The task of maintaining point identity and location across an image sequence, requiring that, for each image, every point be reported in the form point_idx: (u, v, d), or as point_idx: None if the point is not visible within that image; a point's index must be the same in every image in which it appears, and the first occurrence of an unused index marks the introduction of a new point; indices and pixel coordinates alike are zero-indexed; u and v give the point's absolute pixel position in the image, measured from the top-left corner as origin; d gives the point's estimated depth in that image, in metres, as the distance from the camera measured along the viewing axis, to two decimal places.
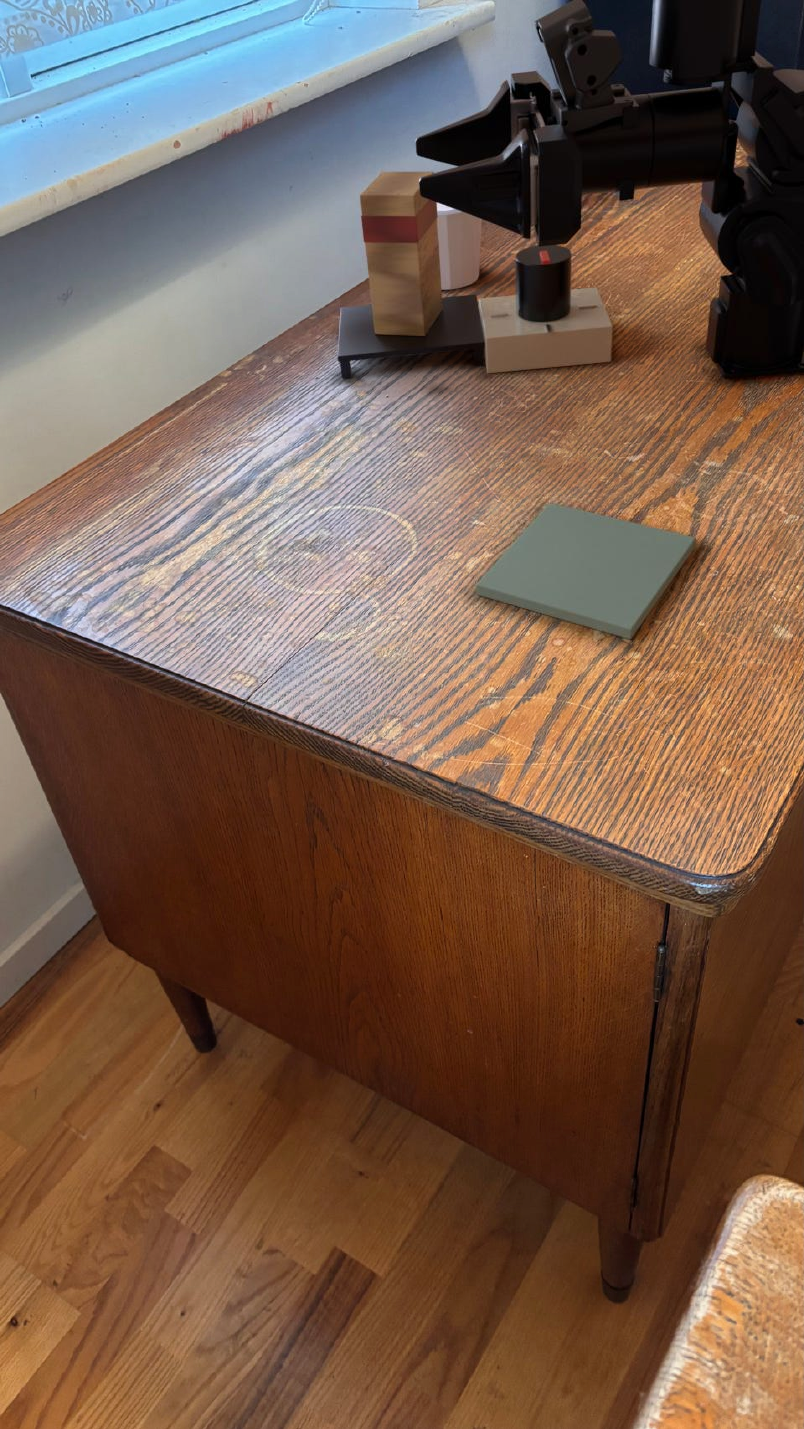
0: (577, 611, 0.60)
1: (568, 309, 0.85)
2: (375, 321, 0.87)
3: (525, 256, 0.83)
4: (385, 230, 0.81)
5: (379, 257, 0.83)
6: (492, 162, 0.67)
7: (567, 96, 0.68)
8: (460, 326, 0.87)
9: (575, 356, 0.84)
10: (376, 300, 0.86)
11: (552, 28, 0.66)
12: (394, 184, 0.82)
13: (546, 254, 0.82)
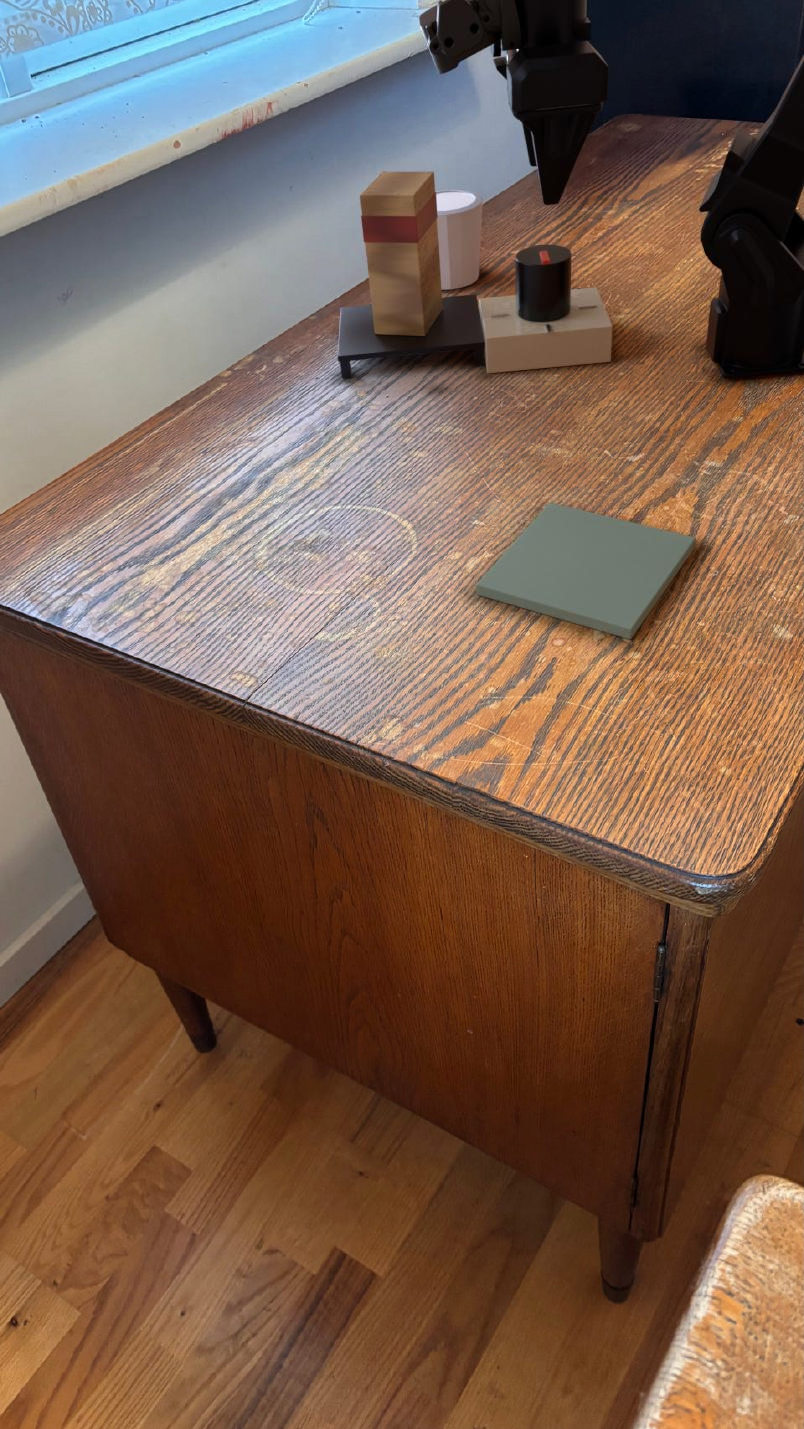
0: (577, 611, 0.60)
1: (568, 309, 0.85)
2: (375, 321, 0.87)
3: (525, 256, 0.83)
4: (385, 230, 0.81)
5: (379, 257, 0.83)
6: (532, 138, 0.72)
7: (490, 43, 0.71)
8: (460, 326, 0.87)
9: (575, 356, 0.84)
10: (376, 300, 0.86)
11: (435, 63, 0.72)
12: (394, 184, 0.82)
13: (546, 254, 0.82)
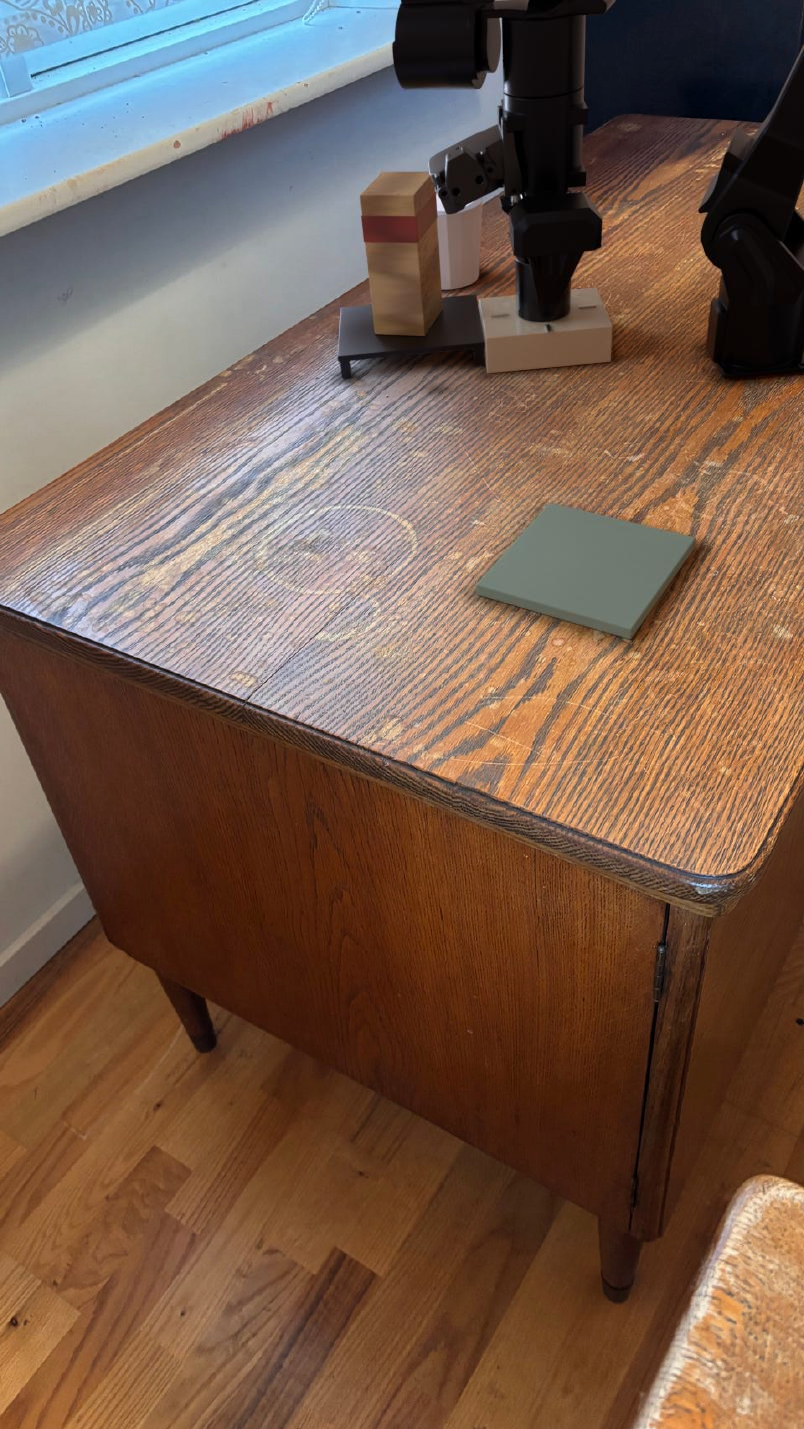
0: (577, 611, 0.60)
1: (568, 309, 0.85)
2: (375, 321, 0.87)
3: None
4: (385, 230, 0.81)
5: (379, 257, 0.83)
6: (530, 264, 0.79)
7: (494, 188, 0.77)
8: (460, 326, 0.87)
9: (575, 356, 0.84)
10: (376, 300, 0.86)
11: (443, 205, 0.78)
12: (394, 184, 0.82)
13: None
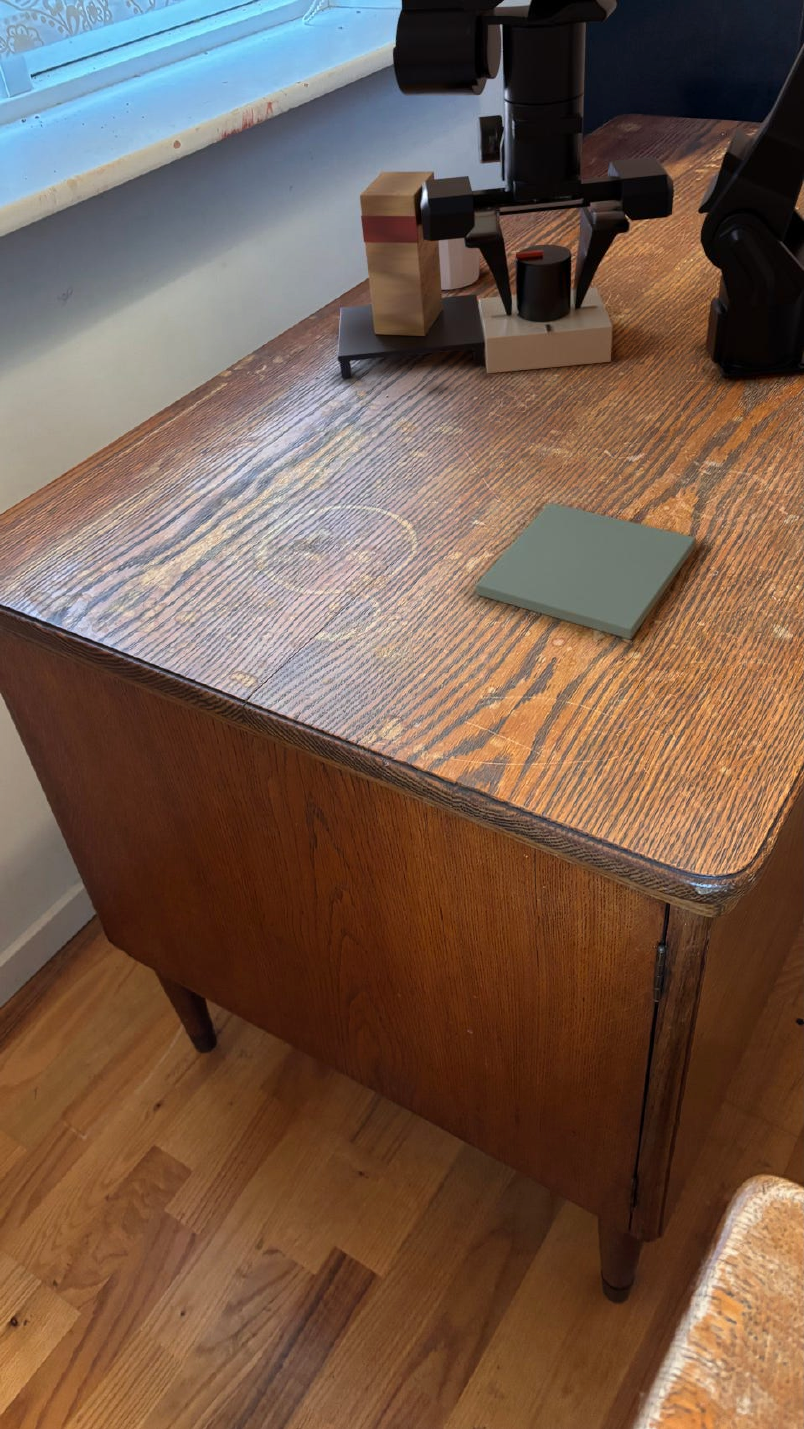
0: (577, 611, 0.60)
1: (532, 317, 0.84)
2: (375, 321, 0.87)
3: (542, 248, 0.84)
4: (385, 230, 0.81)
5: (379, 257, 0.83)
6: None
7: None
8: (460, 326, 0.87)
9: (575, 356, 0.84)
10: (376, 300, 0.86)
11: None
12: (394, 184, 0.82)
13: (532, 252, 0.82)
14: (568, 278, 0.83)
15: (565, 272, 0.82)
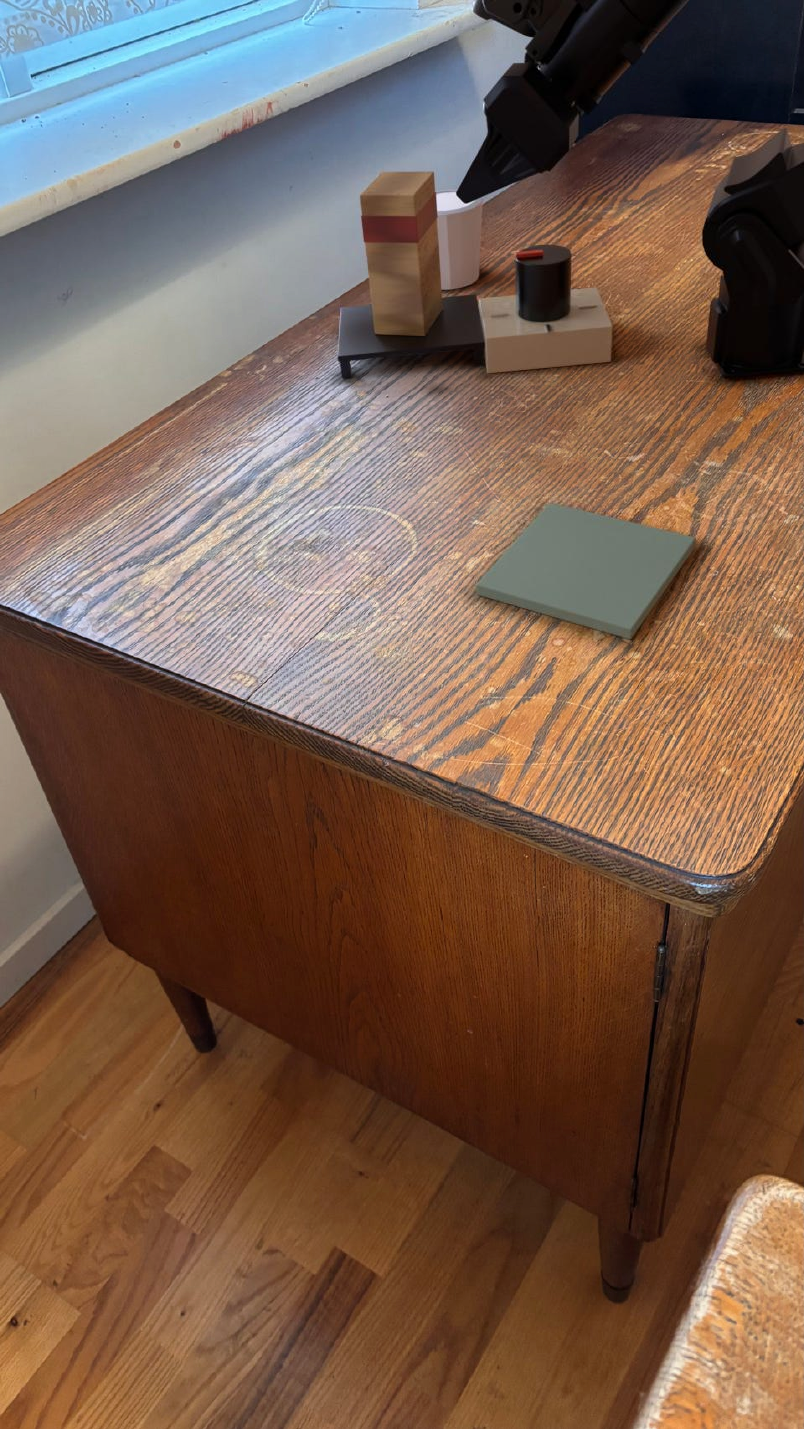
0: (577, 611, 0.60)
1: (532, 317, 0.84)
2: (375, 321, 0.87)
3: (542, 248, 0.84)
4: (385, 230, 0.81)
5: (379, 257, 0.83)
6: None
7: (523, 32, 0.70)
8: (460, 326, 0.87)
9: (575, 356, 0.84)
10: (376, 300, 0.86)
11: None
12: (394, 184, 0.82)
13: (532, 252, 0.82)
14: (568, 278, 0.83)
15: (565, 272, 0.82)
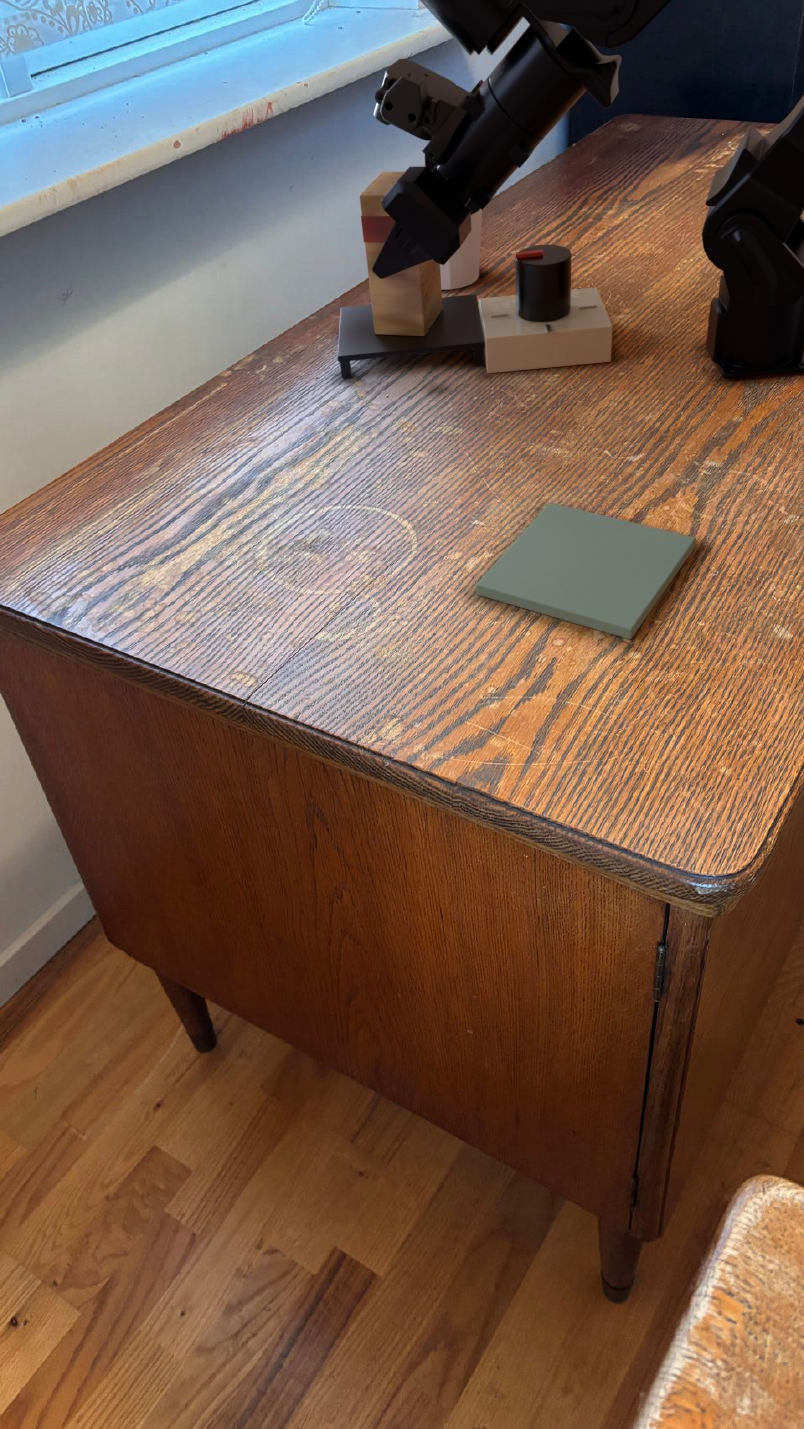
0: (577, 611, 0.60)
1: (532, 317, 0.84)
2: (375, 321, 0.87)
3: (542, 248, 0.84)
4: (385, 230, 0.81)
5: None
6: (394, 223, 0.80)
7: (420, 136, 0.77)
8: (460, 326, 0.87)
9: (575, 356, 0.84)
10: (376, 300, 0.86)
11: (376, 105, 0.76)
12: None
13: (532, 252, 0.82)
14: (568, 278, 0.83)
15: (565, 272, 0.82)
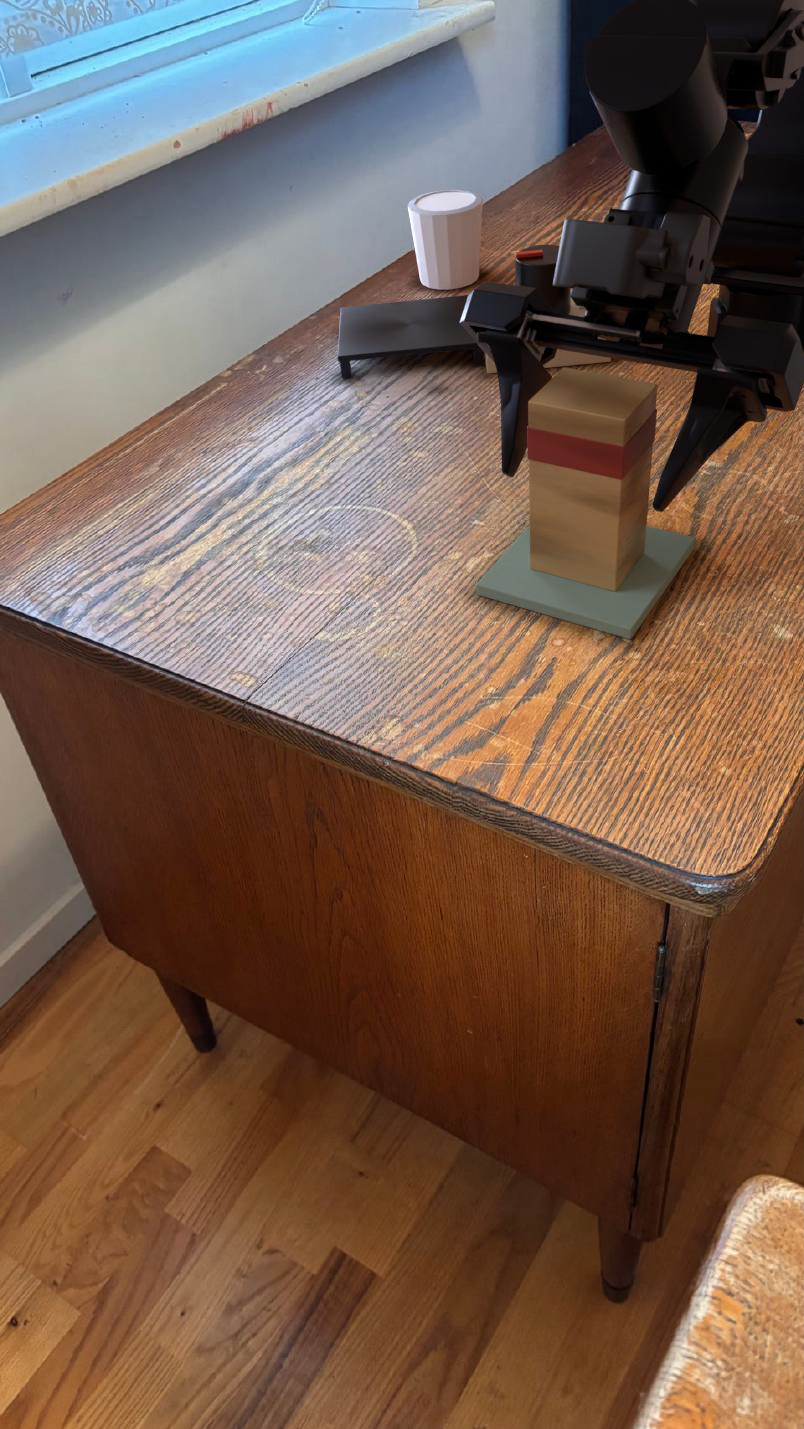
0: (577, 611, 0.60)
1: None
2: (617, 574, 0.61)
3: (542, 248, 0.84)
4: (638, 447, 0.57)
5: (629, 487, 0.58)
6: (704, 421, 0.55)
7: (662, 295, 0.54)
8: (460, 326, 0.87)
9: (575, 356, 0.84)
10: (621, 546, 0.60)
11: (629, 279, 0.51)
12: (595, 394, 0.56)
13: (532, 252, 0.82)
14: None
15: None
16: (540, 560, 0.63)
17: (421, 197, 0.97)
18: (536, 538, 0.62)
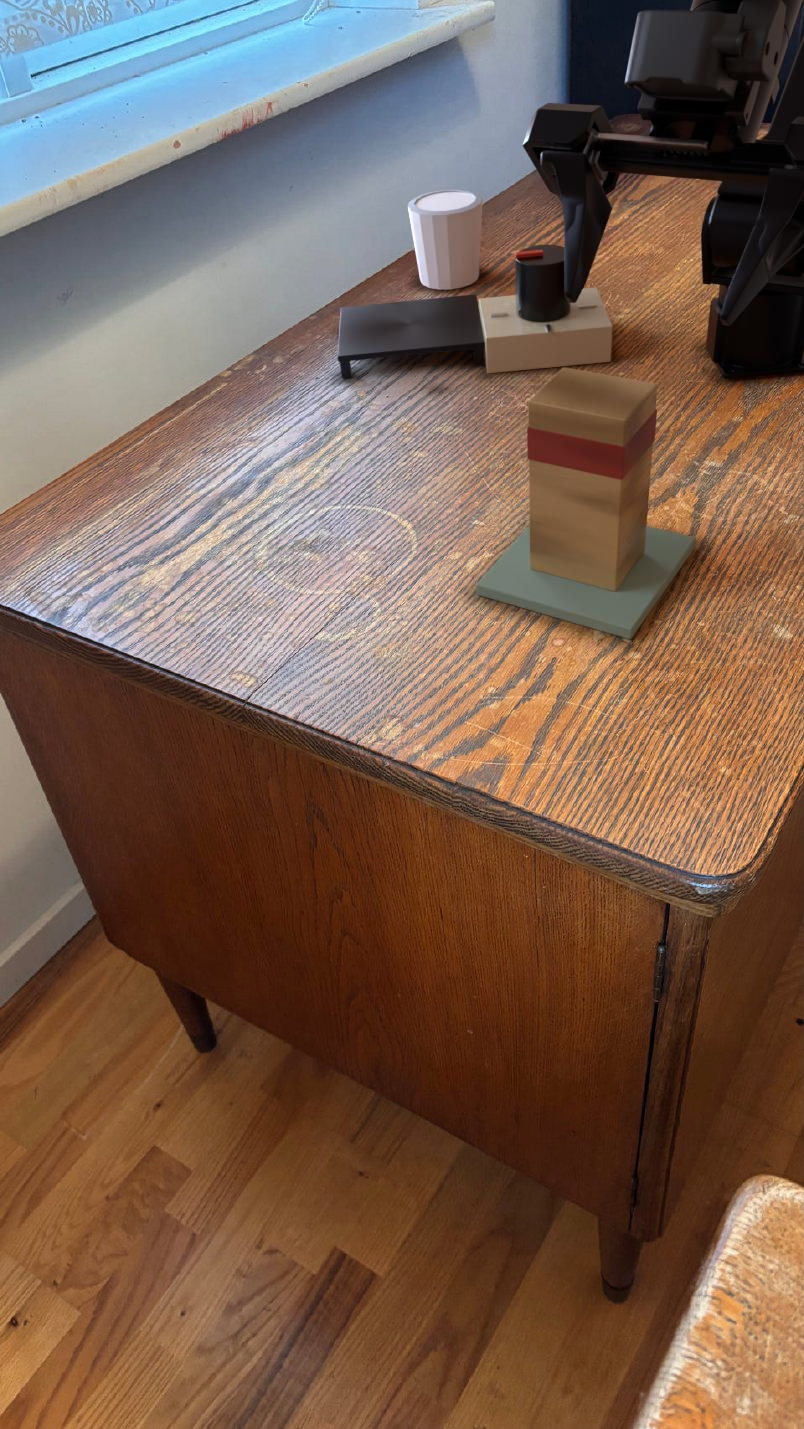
0: (577, 611, 0.60)
1: (532, 317, 0.84)
2: (617, 574, 0.61)
3: (542, 248, 0.84)
4: (638, 447, 0.57)
5: (629, 487, 0.58)
6: (774, 226, 0.55)
7: (734, 96, 0.54)
8: (460, 326, 0.87)
9: (575, 356, 0.84)
10: (621, 546, 0.60)
11: (705, 67, 0.51)
12: (595, 394, 0.56)
13: (532, 252, 0.82)
14: None
15: None
16: (540, 560, 0.63)
17: (421, 197, 0.97)
18: (536, 538, 0.62)
